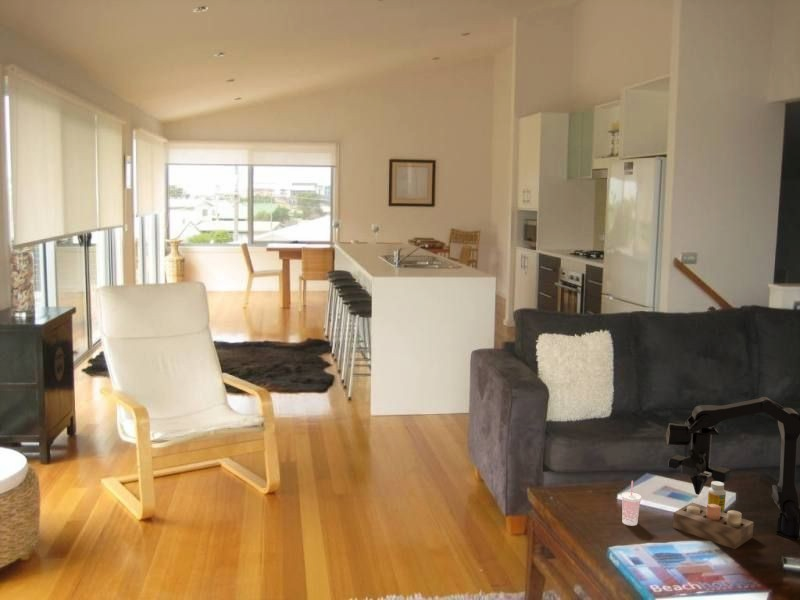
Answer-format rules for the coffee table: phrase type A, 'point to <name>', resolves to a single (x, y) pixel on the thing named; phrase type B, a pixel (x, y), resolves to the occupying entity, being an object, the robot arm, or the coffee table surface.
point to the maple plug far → (693, 510)
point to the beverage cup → (630, 507)
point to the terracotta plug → (713, 512)
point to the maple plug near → (734, 519)
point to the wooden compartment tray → (712, 527)
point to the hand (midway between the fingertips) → (697, 494)
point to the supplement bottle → (717, 494)
